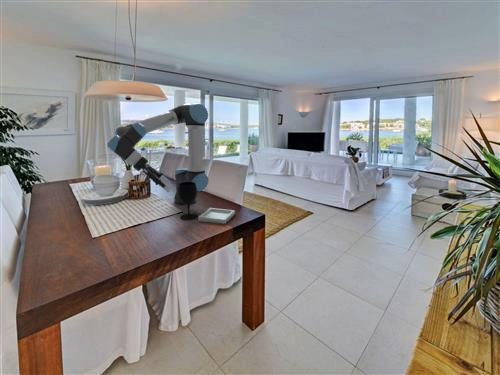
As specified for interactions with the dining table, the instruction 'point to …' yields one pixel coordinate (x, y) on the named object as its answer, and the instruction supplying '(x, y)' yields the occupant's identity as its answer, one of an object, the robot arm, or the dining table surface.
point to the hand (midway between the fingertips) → (169, 187)
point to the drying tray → (216, 215)
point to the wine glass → (187, 198)
